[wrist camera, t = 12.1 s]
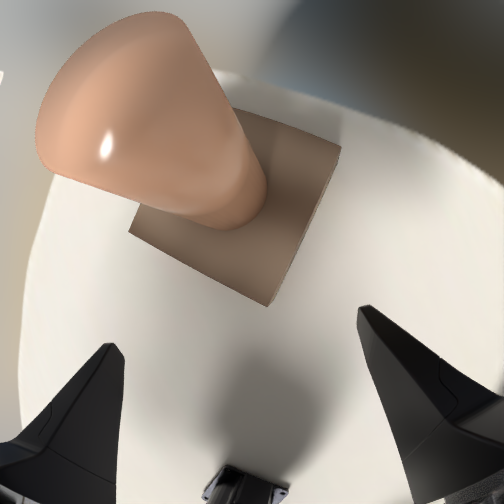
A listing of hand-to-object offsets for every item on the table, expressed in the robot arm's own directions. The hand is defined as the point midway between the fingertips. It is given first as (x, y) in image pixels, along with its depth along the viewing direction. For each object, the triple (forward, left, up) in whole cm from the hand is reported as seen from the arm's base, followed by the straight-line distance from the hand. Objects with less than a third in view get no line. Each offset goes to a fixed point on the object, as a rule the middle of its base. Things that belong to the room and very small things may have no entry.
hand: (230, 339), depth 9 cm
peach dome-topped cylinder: (+5, +5, -8) cm, 11 cm away
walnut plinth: (+6, +5, -11) cm, 13 cm away
